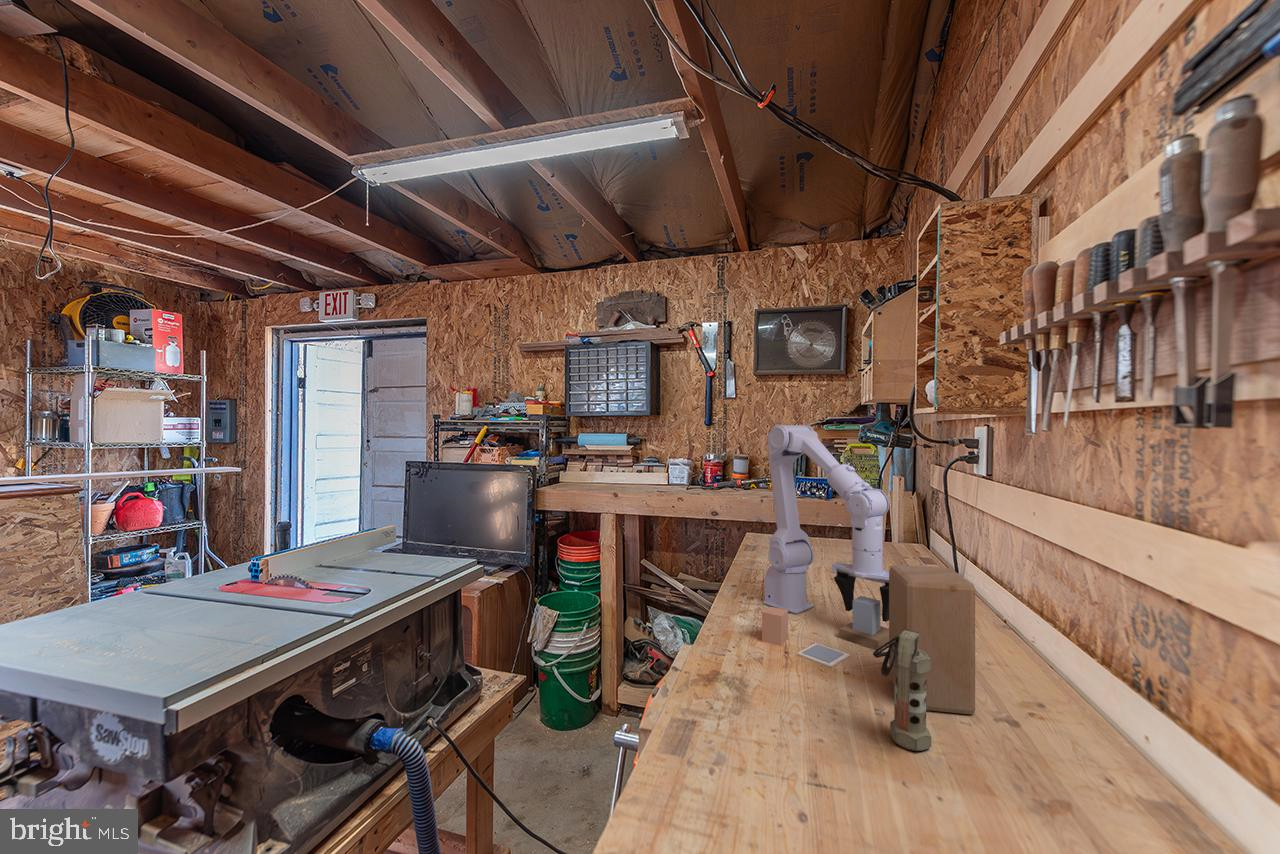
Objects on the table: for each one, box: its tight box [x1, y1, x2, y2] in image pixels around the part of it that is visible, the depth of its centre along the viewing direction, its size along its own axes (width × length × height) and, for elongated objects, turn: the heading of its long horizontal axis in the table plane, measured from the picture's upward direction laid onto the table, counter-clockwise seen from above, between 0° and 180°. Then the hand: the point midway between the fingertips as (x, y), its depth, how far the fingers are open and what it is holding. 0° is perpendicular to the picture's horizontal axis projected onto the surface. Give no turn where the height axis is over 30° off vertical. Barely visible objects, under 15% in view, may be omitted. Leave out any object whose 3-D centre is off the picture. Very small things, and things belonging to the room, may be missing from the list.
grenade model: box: [872, 630, 932, 752], centre depth 70 cm, size 6×7×15 cm
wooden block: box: [888, 564, 976, 715], centre depth 82 cm, size 10×10×20 cm
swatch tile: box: [796, 642, 851, 668], centre depth 97 cm, size 7×7×1 cm
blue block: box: [852, 595, 882, 635], centre depth 104 cm, size 4×4×6 cm
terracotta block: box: [761, 606, 789, 647], centre depth 104 cm, size 4×4×6 cm
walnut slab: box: [838, 621, 889, 651], centre depth 104 cm, size 8×8×2 cm
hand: (867, 614), depth 104 cm, fingers open, 7 cm apart
